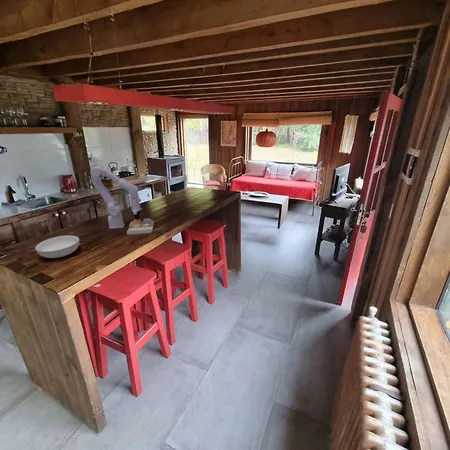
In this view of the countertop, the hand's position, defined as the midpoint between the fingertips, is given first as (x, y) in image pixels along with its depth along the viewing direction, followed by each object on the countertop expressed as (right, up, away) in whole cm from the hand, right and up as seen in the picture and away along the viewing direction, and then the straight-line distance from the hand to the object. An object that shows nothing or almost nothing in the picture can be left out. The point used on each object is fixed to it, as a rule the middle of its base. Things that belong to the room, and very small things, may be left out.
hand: (137, 220), depth 185 cm
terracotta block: (+1, -2, -3) cm, 4 cm away
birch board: (+4, -4, -1) cm, 6 cm away
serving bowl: (-30, -20, -41) cm, 54 cm away
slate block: (+7, -1, -1) cm, 8 cm away
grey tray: (+5, -8, -10) cm, 14 cm away
